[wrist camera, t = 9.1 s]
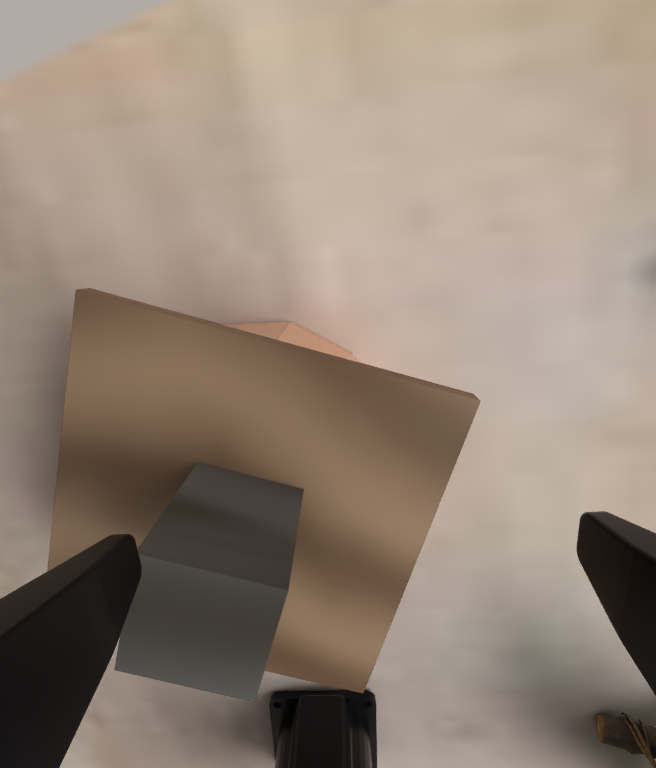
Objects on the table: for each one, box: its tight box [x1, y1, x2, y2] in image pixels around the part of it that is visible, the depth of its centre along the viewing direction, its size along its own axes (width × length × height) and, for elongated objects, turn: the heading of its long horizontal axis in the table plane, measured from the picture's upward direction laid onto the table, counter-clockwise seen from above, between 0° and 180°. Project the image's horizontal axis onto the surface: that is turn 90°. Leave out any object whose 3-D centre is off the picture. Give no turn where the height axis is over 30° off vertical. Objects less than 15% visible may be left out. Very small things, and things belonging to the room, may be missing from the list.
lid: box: [47, 288, 480, 702], centre depth 14 cm, size 14×14×6 cm
